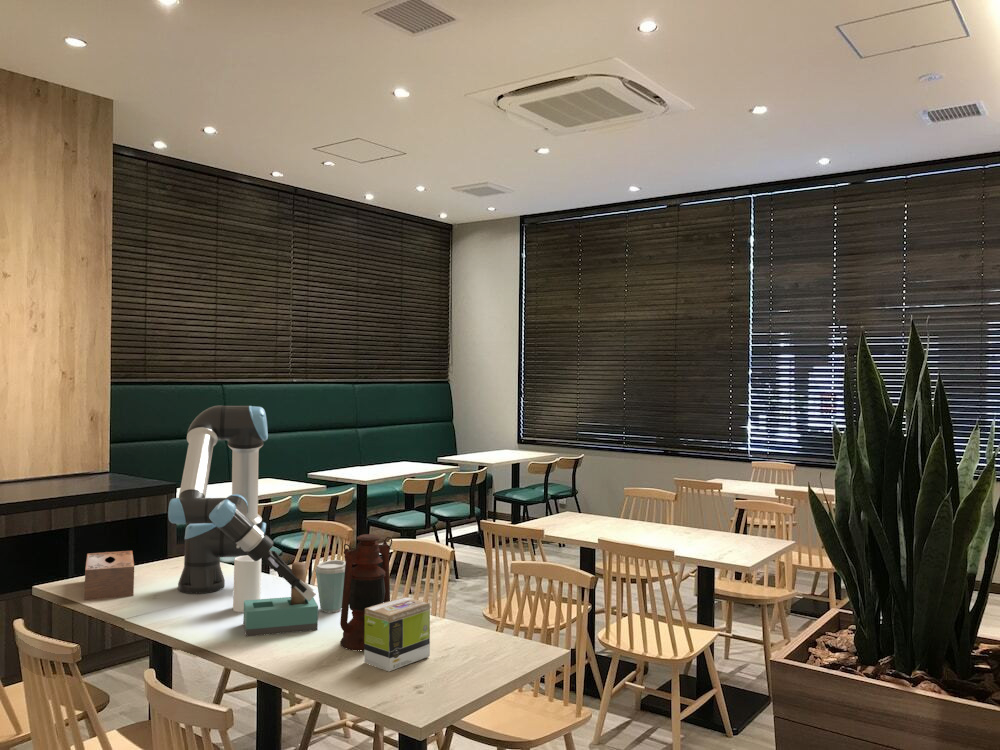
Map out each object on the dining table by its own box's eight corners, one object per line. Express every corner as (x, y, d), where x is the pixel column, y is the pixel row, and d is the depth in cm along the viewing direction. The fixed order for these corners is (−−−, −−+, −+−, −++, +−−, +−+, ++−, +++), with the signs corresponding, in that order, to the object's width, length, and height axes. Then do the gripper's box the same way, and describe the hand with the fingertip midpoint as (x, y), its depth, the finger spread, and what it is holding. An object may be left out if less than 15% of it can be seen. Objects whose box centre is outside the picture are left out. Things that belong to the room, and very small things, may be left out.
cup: (264, 605, 253) (265, 555, 253) (253, 612, 245) (255, 561, 245) (239, 604, 254) (241, 554, 254) (228, 611, 246) (229, 560, 246)
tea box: (404, 648, 216) (405, 595, 216) (430, 657, 210) (431, 602, 210) (362, 663, 205) (363, 606, 205) (388, 673, 198) (390, 614, 198)
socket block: (243, 623, 234) (243, 600, 234) (311, 618, 241) (312, 595, 241) (246, 636, 223) (246, 611, 223) (317, 630, 230) (318, 606, 230)
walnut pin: (289, 612, 235) (291, 562, 235) (303, 611, 236) (304, 561, 237) (291, 616, 231) (292, 565, 231) (305, 615, 233) (306, 564, 233)
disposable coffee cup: (328, 616, 243) (330, 568, 243) (306, 610, 249) (307, 562, 249) (354, 609, 251) (355, 562, 251) (332, 603, 258) (333, 557, 258)
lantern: (355, 656, 209) (358, 544, 209) (325, 643, 219) (328, 536, 219) (405, 641, 222) (408, 535, 222) (374, 630, 231) (377, 528, 232)
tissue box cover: (86, 581, 277) (87, 553, 277) (131, 578, 283) (132, 550, 283) (84, 601, 254) (85, 570, 254) (133, 596, 260) (134, 566, 260)
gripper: (243, 546, 236) (298, 597, 242) (247, 559, 220) (305, 613, 226) (262, 528, 238) (316, 578, 244) (267, 539, 222) (325, 593, 228)
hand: (311, 595), depth 235 cm, fingers open, 4 cm apart
